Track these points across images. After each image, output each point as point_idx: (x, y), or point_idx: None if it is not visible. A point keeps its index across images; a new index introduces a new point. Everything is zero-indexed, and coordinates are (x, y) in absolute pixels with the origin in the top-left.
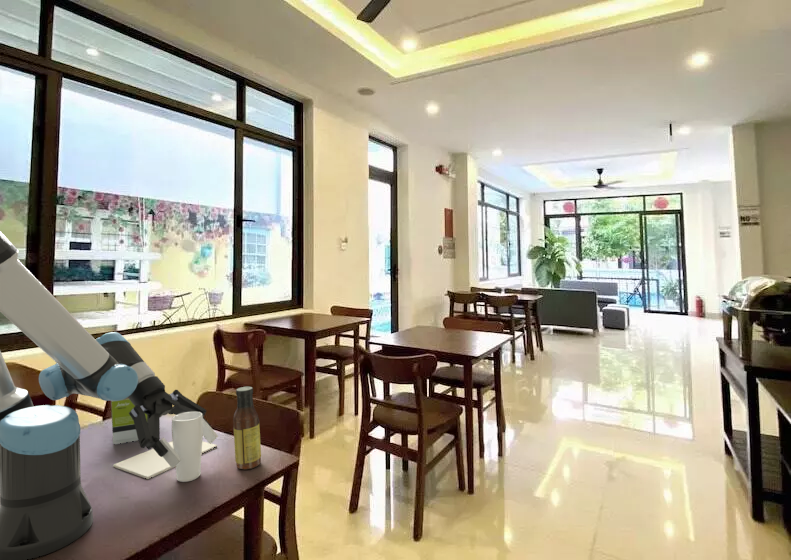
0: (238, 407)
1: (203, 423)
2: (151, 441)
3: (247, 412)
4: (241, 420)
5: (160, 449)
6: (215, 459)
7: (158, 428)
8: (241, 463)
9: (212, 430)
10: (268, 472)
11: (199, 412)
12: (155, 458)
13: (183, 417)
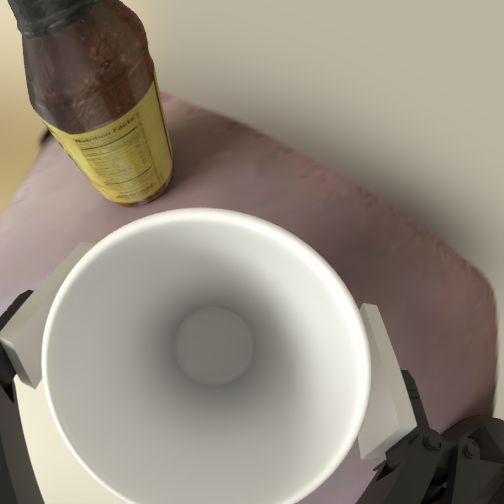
0: (84, 14)
1: (37, 318)
2: (447, 446)
3: (122, 4)
4: (142, 44)
5: (417, 396)
6: None
7: (395, 499)
8: (170, 169)
9: (63, 266)
10: (192, 111)
11: (73, 281)
12: (104, 500)
13: (110, 453)
